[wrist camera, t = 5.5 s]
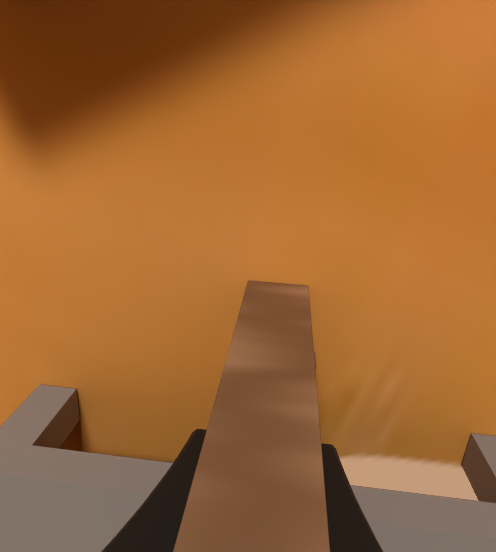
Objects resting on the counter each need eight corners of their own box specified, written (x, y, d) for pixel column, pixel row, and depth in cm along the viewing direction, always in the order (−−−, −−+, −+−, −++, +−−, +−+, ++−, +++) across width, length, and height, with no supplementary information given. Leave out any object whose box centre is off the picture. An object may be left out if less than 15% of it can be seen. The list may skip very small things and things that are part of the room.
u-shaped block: (514, 438, 15) (590, 551, 11) (460, 582, 18) (506, 712, 14) (40, 384, 16) (-40, 468, 13) (62, 527, 19) (3, 631, 15)
